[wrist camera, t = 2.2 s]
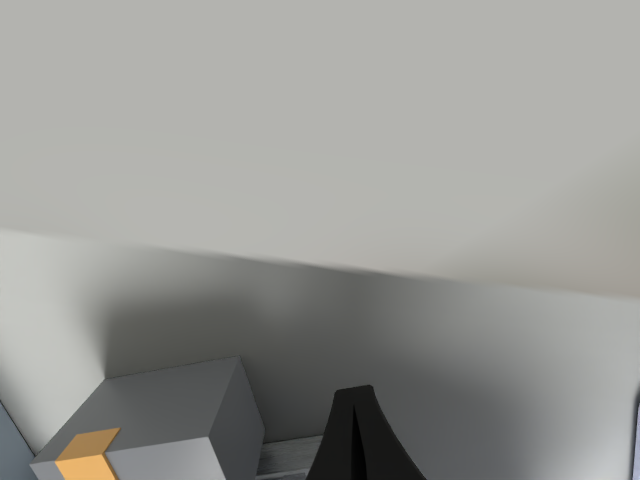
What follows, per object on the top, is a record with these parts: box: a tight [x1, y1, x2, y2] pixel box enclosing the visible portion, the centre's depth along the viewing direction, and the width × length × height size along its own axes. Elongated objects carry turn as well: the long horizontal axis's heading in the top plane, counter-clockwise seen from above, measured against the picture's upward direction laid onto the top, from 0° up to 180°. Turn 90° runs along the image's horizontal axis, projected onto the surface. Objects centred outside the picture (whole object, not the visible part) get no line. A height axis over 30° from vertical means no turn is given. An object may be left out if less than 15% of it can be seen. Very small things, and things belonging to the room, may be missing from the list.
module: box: [29, 356, 265, 480], centre depth 13 cm, size 6×4×4 cm
